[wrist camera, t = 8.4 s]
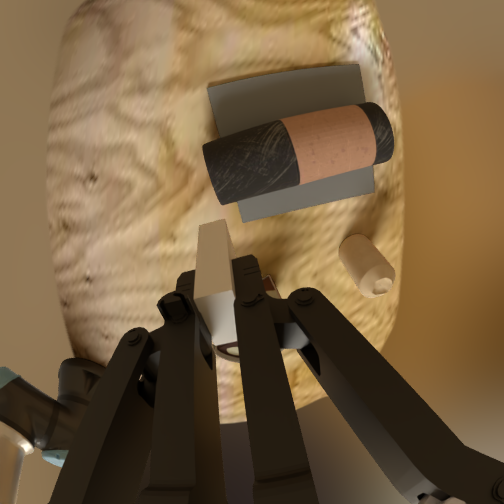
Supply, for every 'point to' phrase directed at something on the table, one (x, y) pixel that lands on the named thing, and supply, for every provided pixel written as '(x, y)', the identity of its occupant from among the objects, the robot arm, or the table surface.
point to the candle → (366, 266)
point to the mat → (287, 105)
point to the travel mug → (298, 150)
